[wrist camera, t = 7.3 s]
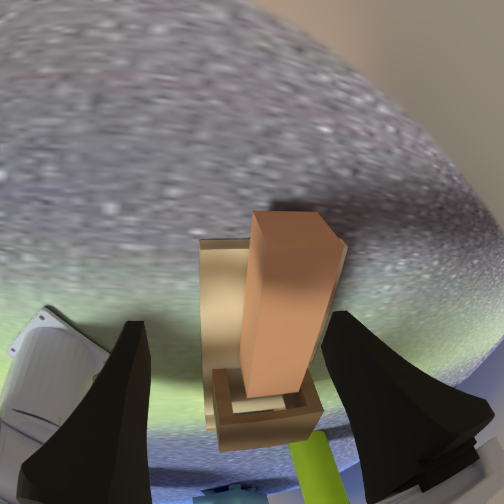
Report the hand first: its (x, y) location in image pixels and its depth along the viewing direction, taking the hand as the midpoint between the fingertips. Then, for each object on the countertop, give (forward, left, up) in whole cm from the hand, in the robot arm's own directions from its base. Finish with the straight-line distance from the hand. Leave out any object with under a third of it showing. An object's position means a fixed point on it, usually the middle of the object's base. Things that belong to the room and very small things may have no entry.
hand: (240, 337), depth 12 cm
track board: (-6, -13, -10) cm, 17 cm away
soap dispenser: (-13, -36, -10) cm, 40 cm away
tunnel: (-8, -15, -9) cm, 19 cm away
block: (0, -6, -8) cm, 10 cm away
